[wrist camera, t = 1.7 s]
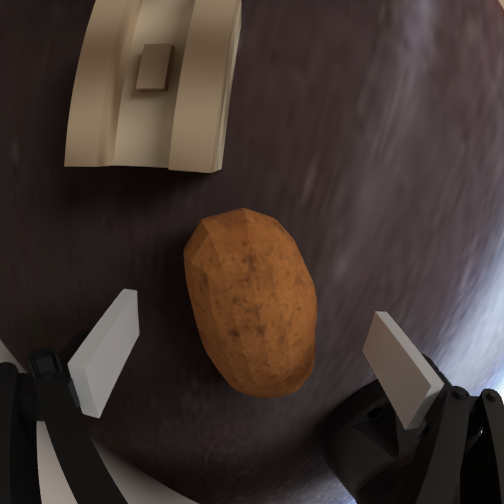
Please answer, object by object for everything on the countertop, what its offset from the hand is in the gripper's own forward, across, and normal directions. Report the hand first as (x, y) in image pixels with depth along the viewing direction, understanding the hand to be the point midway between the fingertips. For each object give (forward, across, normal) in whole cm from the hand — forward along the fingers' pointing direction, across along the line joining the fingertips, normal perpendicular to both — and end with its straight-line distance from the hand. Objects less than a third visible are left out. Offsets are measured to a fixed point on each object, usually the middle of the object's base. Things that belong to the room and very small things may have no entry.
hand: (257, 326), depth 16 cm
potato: (+5, 0, 0) cm, 5 cm away
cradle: (+5, +6, -12) cm, 15 cm away
